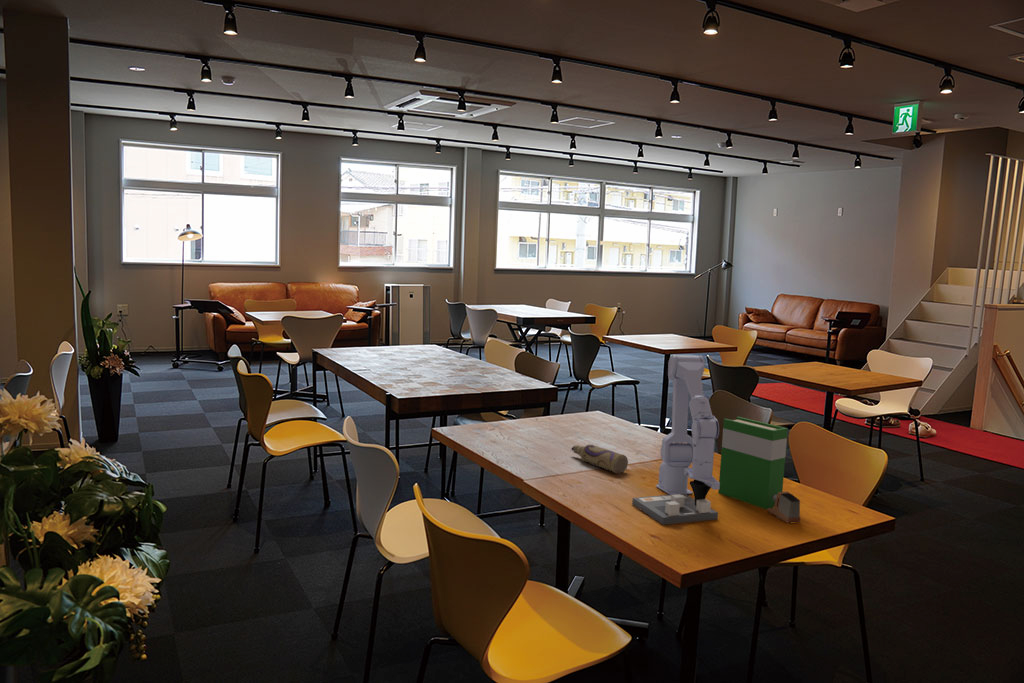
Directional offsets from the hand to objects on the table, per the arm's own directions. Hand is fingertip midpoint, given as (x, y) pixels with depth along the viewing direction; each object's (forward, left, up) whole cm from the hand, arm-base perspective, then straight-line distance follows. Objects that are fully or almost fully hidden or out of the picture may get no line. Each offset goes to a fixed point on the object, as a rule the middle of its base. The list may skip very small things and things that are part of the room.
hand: (699, 506), depth 208 cm
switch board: (-5, -5, -3) cm, 8 cm away
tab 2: (+2, 0, -1) cm, 2 cm away
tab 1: (+1, -10, -1) cm, 10 cm away
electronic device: (+7, +24, -3) cm, 25 cm away
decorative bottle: (-54, -4, -3) cm, 54 cm away
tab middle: (-4, -5, -1) cm, 6 cm away
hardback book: (-10, +25, -3) cm, 27 cm away
